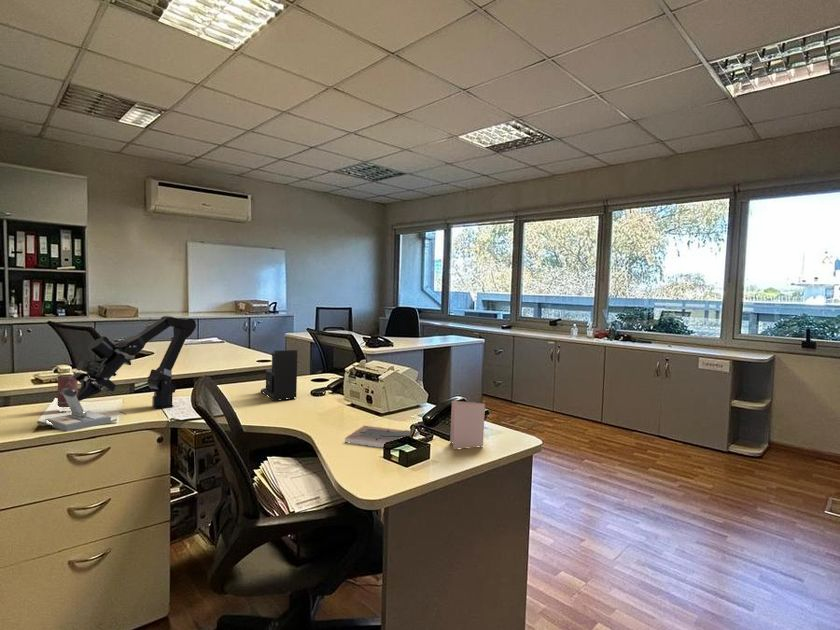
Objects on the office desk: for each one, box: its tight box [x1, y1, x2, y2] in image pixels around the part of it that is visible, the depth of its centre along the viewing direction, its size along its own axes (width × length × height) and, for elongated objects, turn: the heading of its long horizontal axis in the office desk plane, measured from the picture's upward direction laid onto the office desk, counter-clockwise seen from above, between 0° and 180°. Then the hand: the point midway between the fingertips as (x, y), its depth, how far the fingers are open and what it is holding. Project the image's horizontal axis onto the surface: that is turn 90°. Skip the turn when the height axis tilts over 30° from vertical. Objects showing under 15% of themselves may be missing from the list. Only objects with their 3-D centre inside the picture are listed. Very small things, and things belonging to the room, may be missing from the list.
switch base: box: [45, 410, 112, 432], centre depth 163 cm, size 14×14×2 cm
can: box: [57, 373, 79, 407], centre depth 178 cm, size 6×6×14 cm
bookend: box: [260, 349, 298, 401], centre depth 220 cm, size 23×11×24 cm, turn 34°
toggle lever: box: [60, 388, 86, 418], centre depth 161 cm, size 2×6×11 cm, turn 63°
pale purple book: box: [344, 425, 420, 449], centre depth 159 cm, size 16×2×22 cm
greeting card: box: [449, 400, 486, 450], centre depth 154 cm, size 11×7×15 cm, turn 77°
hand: (75, 401), depth 161 cm, fingers closed, pressing on toggle lever
